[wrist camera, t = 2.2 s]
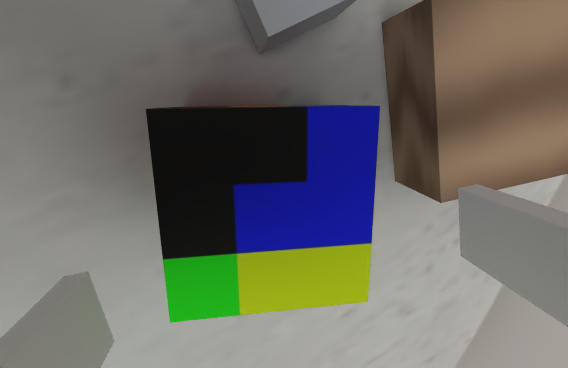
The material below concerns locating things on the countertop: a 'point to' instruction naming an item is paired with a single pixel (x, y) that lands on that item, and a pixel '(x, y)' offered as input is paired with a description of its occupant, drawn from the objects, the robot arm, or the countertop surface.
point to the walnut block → (477, 93)
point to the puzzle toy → (264, 206)
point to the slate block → (286, 18)
